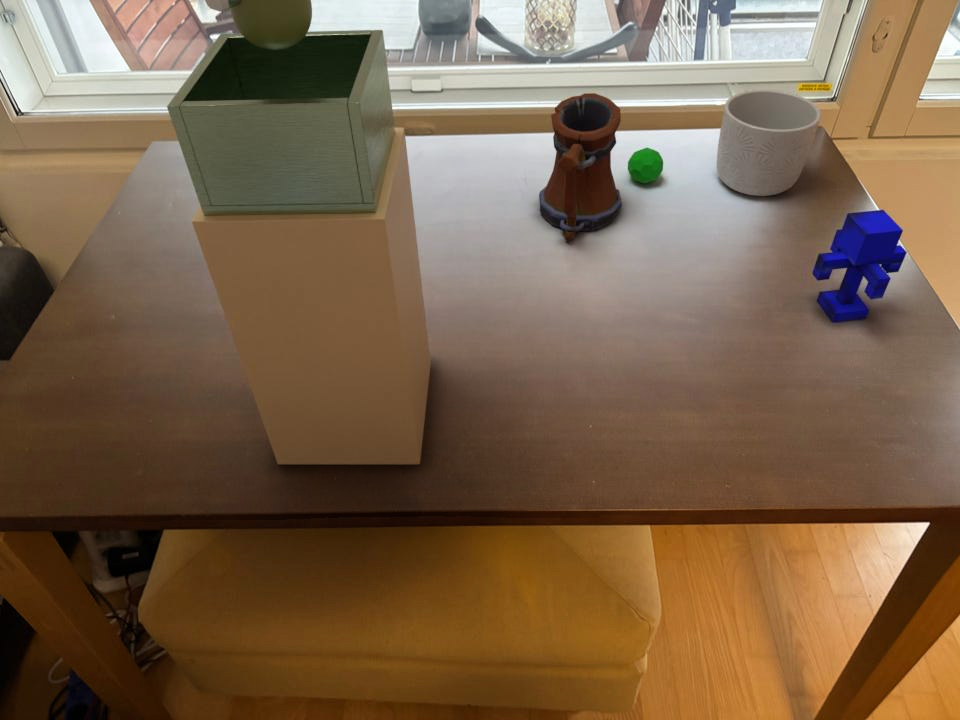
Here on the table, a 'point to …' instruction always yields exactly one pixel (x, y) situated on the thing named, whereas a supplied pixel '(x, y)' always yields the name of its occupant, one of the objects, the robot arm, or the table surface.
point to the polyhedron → (645, 165)
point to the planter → (765, 140)
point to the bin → (312, 241)
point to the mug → (582, 165)
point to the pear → (273, 22)
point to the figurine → (859, 263)
